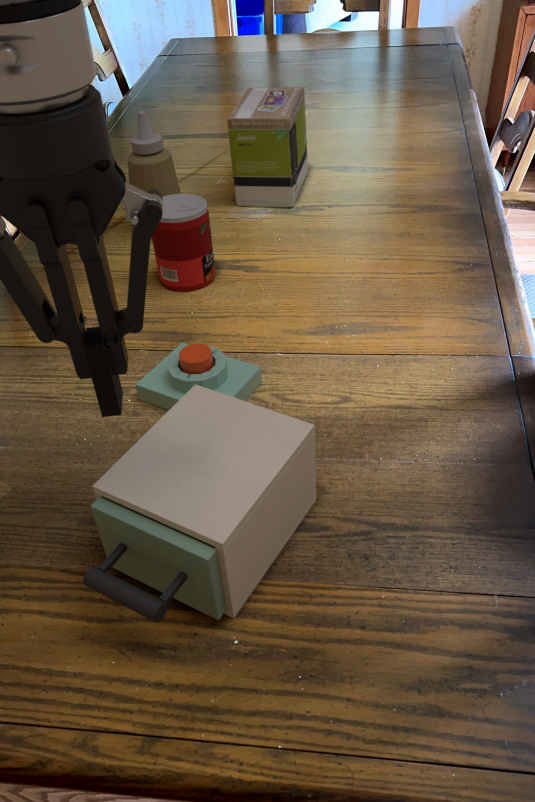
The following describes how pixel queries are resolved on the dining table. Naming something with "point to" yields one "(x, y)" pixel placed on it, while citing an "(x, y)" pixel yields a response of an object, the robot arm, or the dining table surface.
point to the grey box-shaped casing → (222, 481)
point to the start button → (196, 359)
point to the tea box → (268, 146)
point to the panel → (198, 379)
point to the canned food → (184, 243)
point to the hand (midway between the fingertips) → (112, 404)
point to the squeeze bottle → (151, 161)
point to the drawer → (154, 564)
